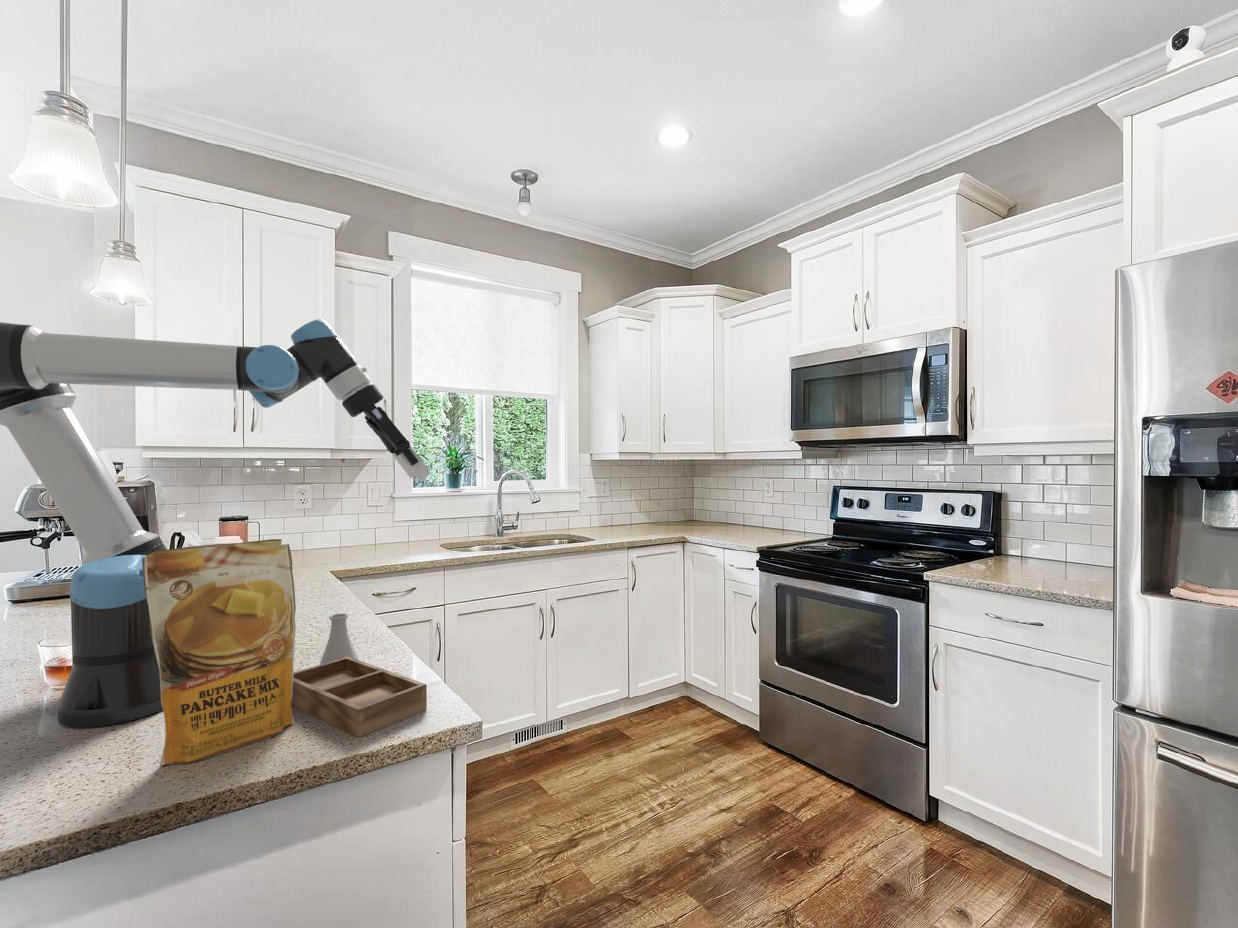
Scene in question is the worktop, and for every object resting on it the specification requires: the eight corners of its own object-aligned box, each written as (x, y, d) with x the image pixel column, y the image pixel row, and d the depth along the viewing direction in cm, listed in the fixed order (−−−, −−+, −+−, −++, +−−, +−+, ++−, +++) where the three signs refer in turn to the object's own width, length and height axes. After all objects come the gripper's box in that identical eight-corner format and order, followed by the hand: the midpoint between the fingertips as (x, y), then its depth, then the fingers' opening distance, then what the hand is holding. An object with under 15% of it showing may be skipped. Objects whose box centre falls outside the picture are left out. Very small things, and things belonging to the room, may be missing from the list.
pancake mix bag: (138, 760, 80) (135, 549, 80) (291, 712, 95) (289, 534, 94) (151, 777, 76) (148, 555, 75) (309, 725, 90) (307, 538, 90)
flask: (318, 677, 110) (317, 622, 110) (317, 664, 116) (317, 612, 116) (361, 670, 113) (361, 617, 113) (358, 658, 120) (358, 608, 119)
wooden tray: (426, 709, 96) (426, 684, 96) (358, 737, 86) (358, 709, 86) (348, 678, 109) (348, 656, 109) (281, 699, 99) (281, 675, 99)
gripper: (377, 375, 113) (445, 466, 119) (368, 387, 135) (426, 464, 141) (341, 397, 110) (412, 489, 116) (338, 406, 133) (398, 483, 139)
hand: (420, 476), depth 129 cm, fingers open, 13 cm apart
